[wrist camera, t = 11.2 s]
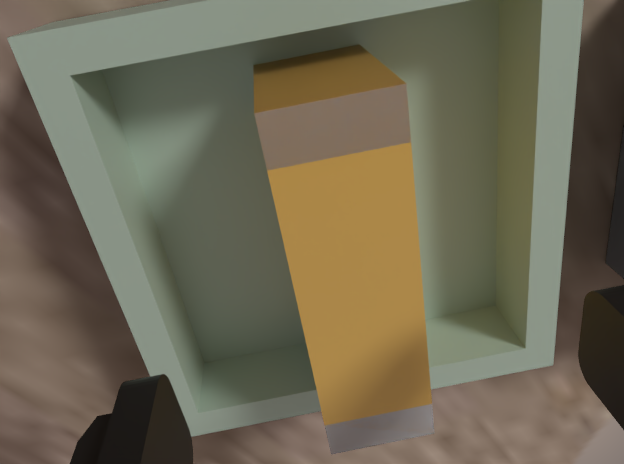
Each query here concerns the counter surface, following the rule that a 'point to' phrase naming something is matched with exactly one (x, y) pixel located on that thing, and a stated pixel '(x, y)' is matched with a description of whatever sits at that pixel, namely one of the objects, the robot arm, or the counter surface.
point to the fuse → (350, 238)
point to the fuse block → (617, 221)
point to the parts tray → (258, 195)
